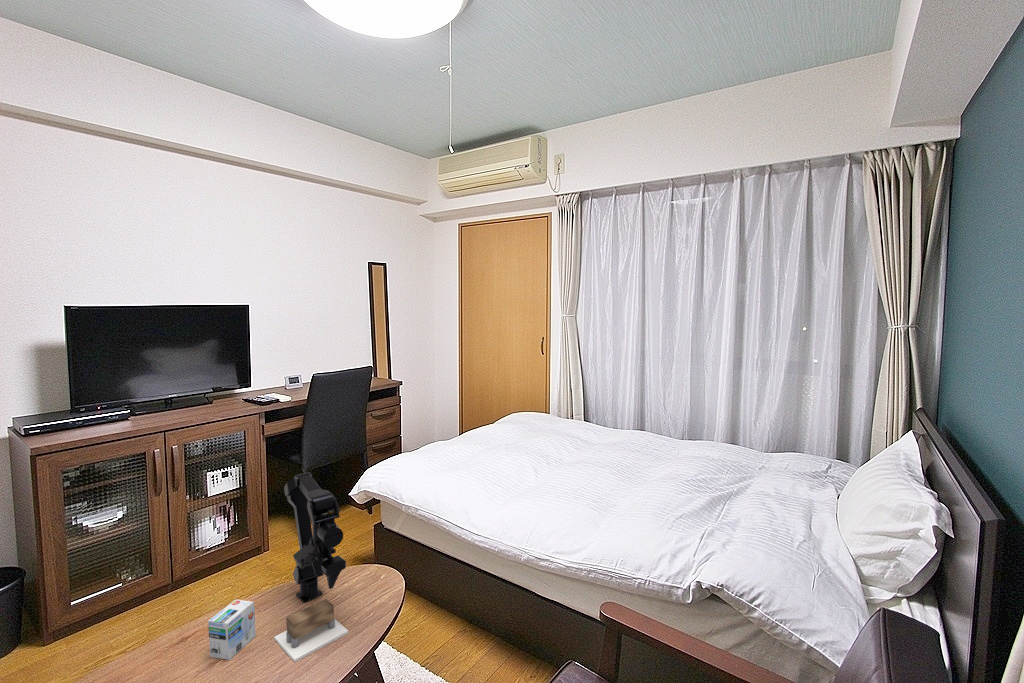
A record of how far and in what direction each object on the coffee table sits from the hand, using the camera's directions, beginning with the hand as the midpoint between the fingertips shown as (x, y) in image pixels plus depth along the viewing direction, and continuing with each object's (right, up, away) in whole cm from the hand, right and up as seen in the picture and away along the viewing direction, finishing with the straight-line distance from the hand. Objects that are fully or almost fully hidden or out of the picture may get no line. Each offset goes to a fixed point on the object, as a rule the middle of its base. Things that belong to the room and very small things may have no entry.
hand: (324, 582), depth 151 cm
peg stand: (-1, -13, -7) cm, 14 cm away
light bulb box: (-22, -14, -10) cm, 28 cm away
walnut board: (-1, -9, -7) cm, 12 cm away
